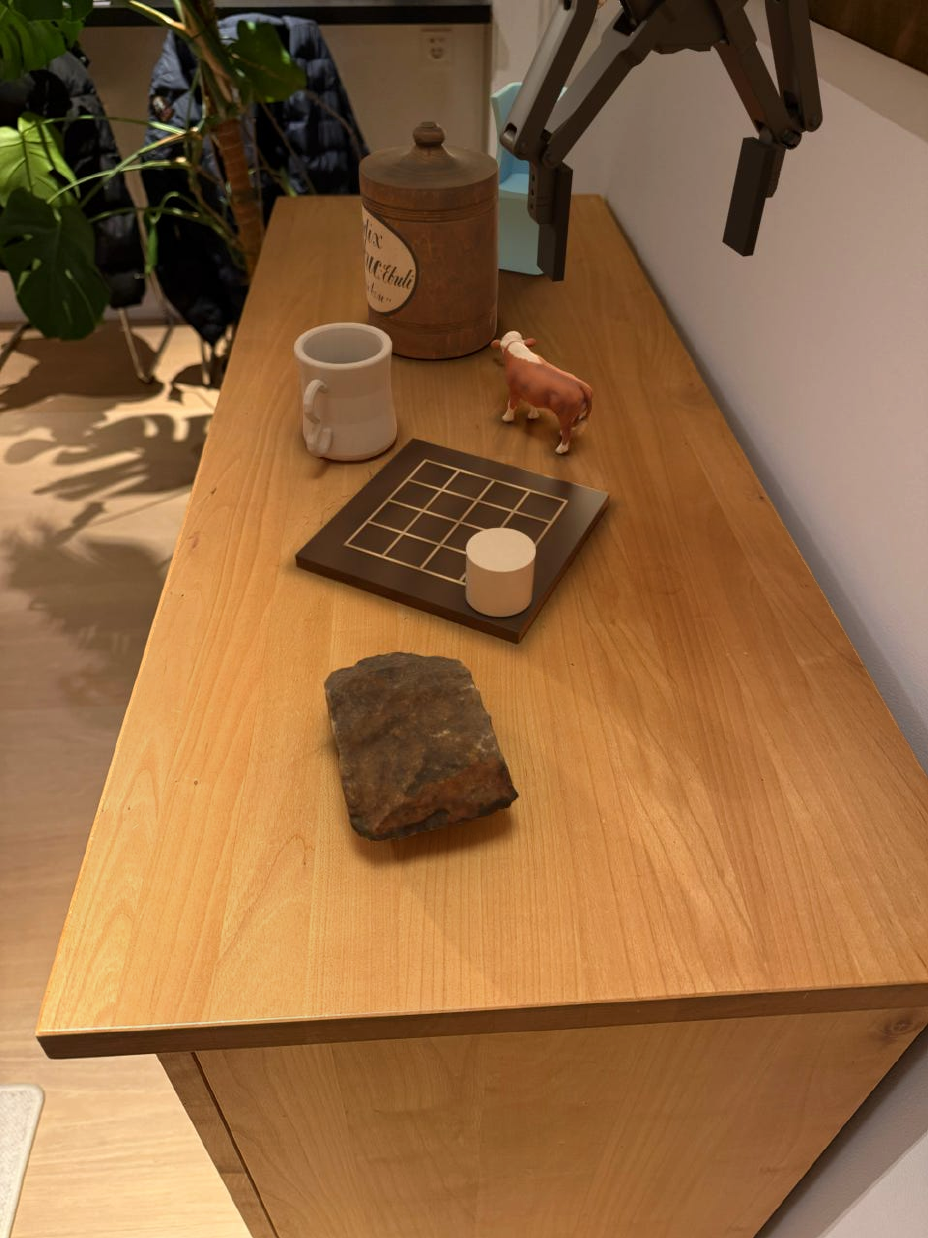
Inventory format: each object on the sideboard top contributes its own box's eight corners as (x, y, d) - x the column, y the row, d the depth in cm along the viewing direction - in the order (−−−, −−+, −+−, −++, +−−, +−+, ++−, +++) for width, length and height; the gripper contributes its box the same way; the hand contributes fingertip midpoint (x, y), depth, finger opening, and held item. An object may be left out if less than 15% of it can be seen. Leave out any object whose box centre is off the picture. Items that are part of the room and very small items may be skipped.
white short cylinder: (542, 584, 72) (546, 539, 68) (515, 625, 68) (518, 579, 65) (483, 565, 73) (484, 520, 70) (453, 604, 70) (453, 558, 67)
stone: (467, 681, 66) (461, 619, 62) (524, 831, 55) (521, 767, 52) (330, 713, 65) (315, 651, 61) (361, 873, 54) (345, 810, 50)
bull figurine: (511, 393, 96) (515, 319, 90) (596, 450, 88) (606, 373, 83) (478, 405, 94) (479, 330, 89) (562, 464, 86) (570, 386, 81)
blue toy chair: (485, 266, 120) (489, 96, 107) (506, 245, 126) (512, 80, 112) (542, 276, 118) (553, 103, 104) (560, 254, 123) (574, 87, 110)
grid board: (608, 504, 82) (610, 492, 81) (518, 644, 69) (519, 631, 68) (413, 448, 88) (412, 436, 87) (296, 566, 75) (294, 553, 74)
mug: (330, 407, 93) (321, 314, 87) (412, 425, 91) (409, 330, 84) (270, 471, 85) (254, 373, 78) (358, 492, 83) (350, 393, 76)
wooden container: (358, 311, 110) (343, 108, 95) (475, 297, 113) (479, 99, 98) (384, 368, 100) (372, 150, 85) (513, 351, 103) (523, 139, 88)
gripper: (873, -174, 51) (779, 219, 65) (445, -172, 45) (447, 260, 59) (968, -166, 45) (842, 259, 60) (498, -163, 39) (485, 308, 54)
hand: (646, 261), depth 60 cm, fingers open, 13 cm apart
